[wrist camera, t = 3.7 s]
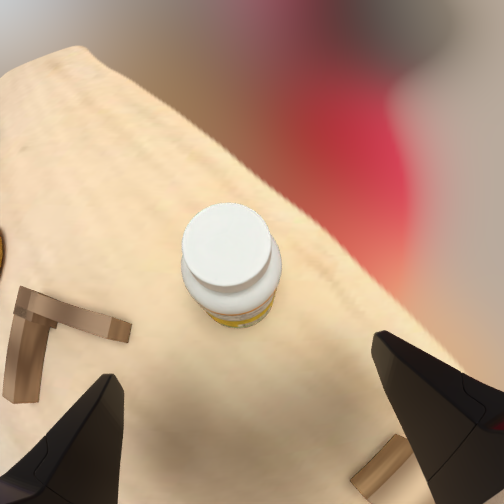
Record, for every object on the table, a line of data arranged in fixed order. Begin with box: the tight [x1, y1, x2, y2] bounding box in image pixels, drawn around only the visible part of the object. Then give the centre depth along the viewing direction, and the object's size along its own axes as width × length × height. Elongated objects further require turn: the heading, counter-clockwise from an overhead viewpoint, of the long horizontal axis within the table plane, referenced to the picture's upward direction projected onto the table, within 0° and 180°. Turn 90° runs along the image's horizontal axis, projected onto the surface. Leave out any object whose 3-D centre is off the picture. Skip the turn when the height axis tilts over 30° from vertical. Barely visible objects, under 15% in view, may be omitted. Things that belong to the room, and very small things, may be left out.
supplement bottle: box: [181, 203, 282, 328], centre depth 18 cm, size 5×5×10 cm
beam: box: [350, 434, 435, 504], centre depth 14 cm, size 12×5×4 cm, turn 43°
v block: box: [2, 286, 132, 404], centre depth 19 cm, size 8×13×4 cm, turn 126°
